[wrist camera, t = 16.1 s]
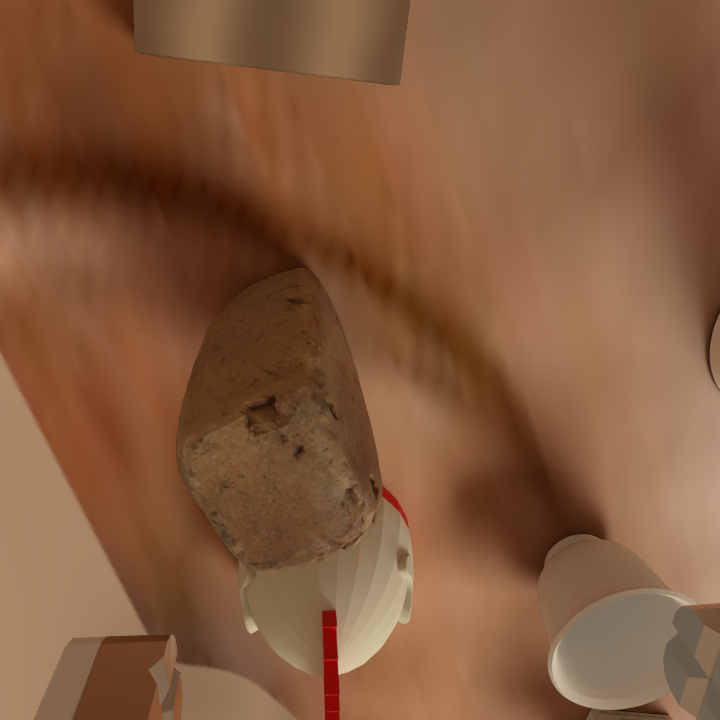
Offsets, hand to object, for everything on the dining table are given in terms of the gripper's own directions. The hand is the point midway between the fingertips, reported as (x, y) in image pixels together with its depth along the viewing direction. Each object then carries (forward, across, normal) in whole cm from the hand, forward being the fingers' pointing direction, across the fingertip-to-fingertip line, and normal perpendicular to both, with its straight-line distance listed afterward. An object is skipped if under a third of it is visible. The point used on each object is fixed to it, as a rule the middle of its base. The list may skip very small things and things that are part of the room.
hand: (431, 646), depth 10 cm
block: (+34, +3, +8) cm, 35 cm away
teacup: (+34, -22, +30) cm, 51 cm away
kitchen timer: (+34, +1, +26) cm, 43 cm away
